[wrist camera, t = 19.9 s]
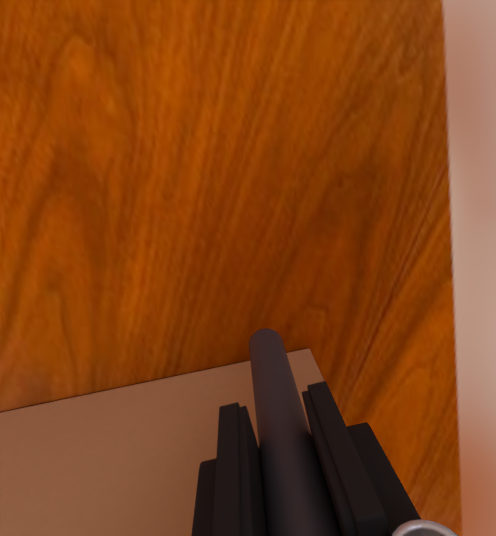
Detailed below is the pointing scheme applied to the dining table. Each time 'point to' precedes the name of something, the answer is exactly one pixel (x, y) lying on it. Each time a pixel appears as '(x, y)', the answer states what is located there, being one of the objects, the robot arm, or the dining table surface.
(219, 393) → the cupboard door
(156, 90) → the dining table surface
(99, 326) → the dining table surface
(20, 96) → the dining table surface
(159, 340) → the dining table surface
